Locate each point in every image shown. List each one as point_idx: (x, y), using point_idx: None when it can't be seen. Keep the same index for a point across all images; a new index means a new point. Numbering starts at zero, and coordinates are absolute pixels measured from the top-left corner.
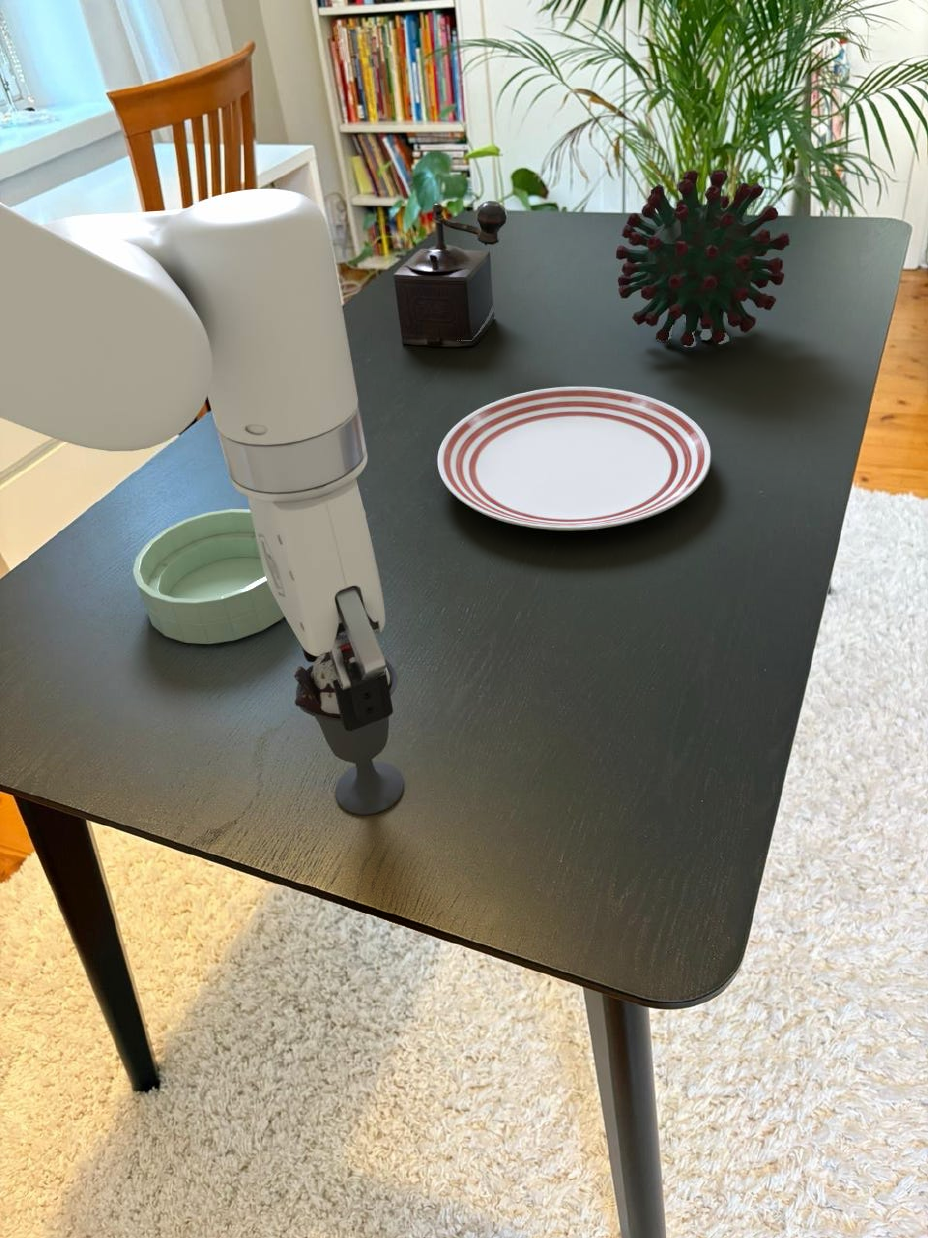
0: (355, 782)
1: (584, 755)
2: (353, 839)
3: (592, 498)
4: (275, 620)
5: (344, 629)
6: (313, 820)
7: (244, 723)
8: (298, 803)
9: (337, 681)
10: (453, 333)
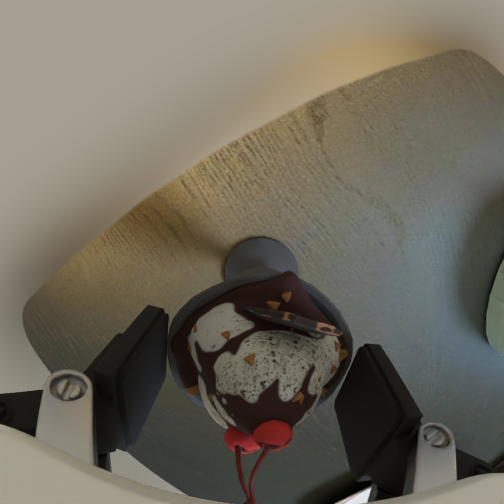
0: (264, 266)
1: (177, 408)
2: (214, 225)
3: (366, 499)
4: (488, 310)
5: (343, 431)
6: (264, 205)
7: (427, 220)
8: (296, 204)
9: (105, 381)
10: (501, 468)
